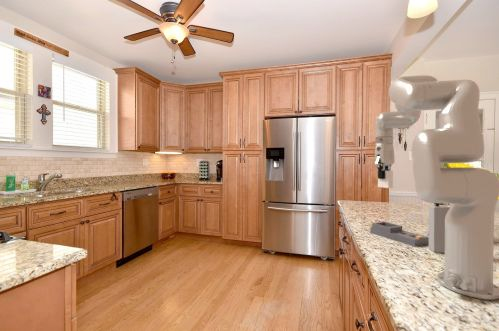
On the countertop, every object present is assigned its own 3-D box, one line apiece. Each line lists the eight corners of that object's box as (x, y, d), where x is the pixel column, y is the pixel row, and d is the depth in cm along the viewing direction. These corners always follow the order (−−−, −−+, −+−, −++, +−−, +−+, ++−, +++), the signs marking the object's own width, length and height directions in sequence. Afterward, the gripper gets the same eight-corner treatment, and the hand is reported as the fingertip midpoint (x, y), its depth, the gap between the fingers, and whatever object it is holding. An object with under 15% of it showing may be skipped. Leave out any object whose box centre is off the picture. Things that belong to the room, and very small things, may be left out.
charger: (388, 188, 112) (388, 171, 112) (377, 186, 116) (378, 170, 116) (392, 187, 114) (393, 170, 114) (382, 186, 119) (382, 170, 118)
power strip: (414, 247, 93) (414, 235, 93) (370, 233, 111) (370, 223, 111) (428, 244, 97) (428, 232, 97) (383, 231, 115) (383, 221, 115)
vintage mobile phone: (449, 253, 86) (450, 184, 85) (434, 252, 87) (434, 184, 86) (443, 249, 89) (443, 183, 89) (428, 249, 90) (428, 183, 90)
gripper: (382, 139, 108) (382, 179, 108) (400, 141, 117) (400, 178, 117) (367, 140, 114) (366, 178, 114) (385, 142, 123) (384, 177, 124)
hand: (384, 178), depth 116 cm, fingers closed on charger, 4 cm apart
